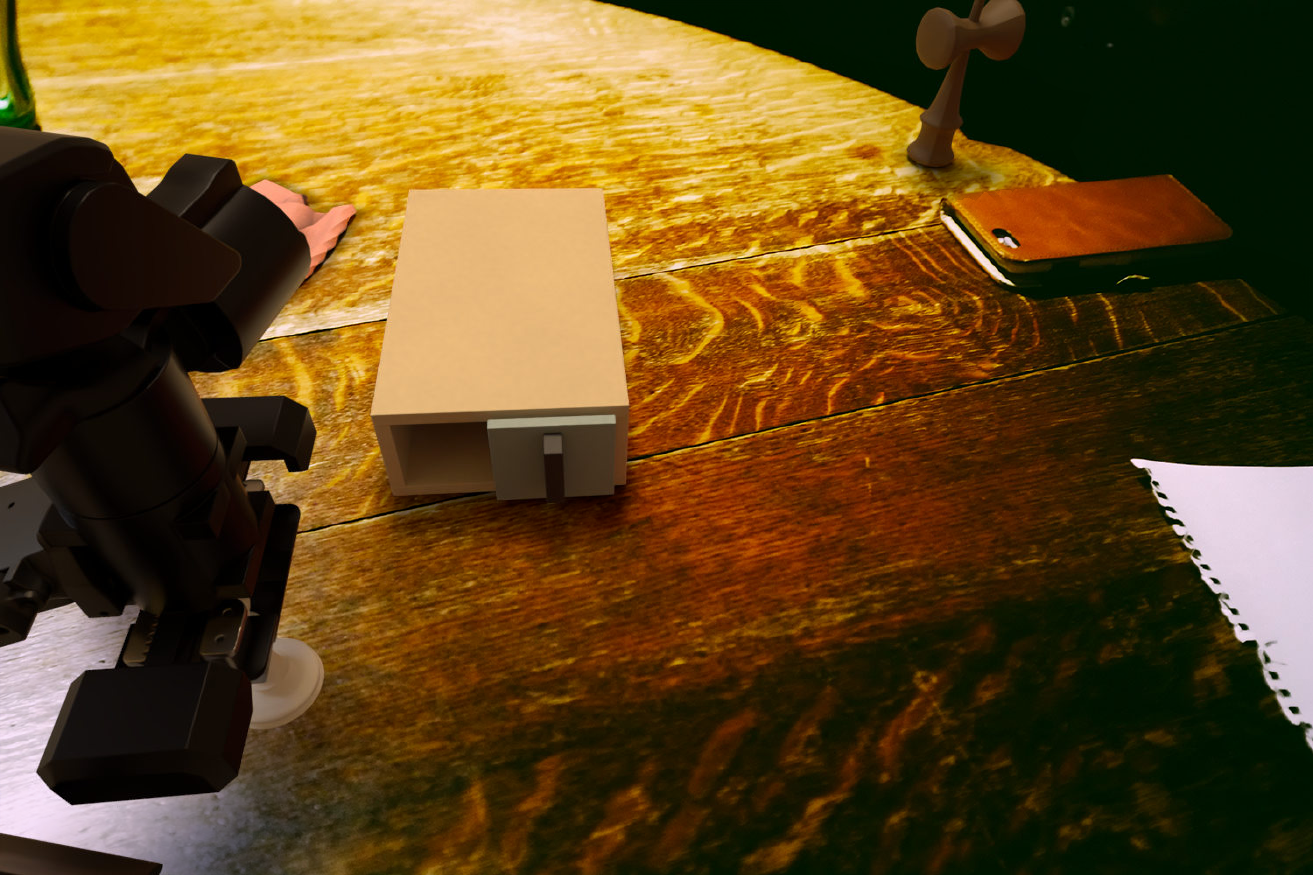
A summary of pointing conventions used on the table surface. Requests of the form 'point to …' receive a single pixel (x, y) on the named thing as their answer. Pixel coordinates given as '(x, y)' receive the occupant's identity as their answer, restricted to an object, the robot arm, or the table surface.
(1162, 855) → the table surface
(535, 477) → the closet door
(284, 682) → the chess piece
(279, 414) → the robot arm
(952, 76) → the kendama
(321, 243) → the cloth
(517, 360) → the box
